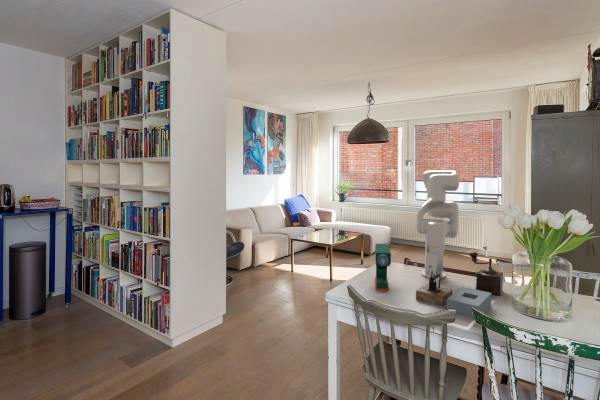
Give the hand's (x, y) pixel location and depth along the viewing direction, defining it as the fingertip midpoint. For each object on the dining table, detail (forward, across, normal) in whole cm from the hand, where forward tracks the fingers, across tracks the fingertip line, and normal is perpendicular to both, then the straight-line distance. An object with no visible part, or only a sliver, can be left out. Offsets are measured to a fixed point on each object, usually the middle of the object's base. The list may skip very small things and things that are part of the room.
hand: (434, 288), depth 157 cm
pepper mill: (+6, -30, +13) cm, 33 cm away
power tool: (+6, +1, -26) cm, 26 cm away
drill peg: (+5, 0, 0) cm, 5 cm away
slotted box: (+6, 0, +15) cm, 16 cm away
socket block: (+6, 0, 0) cm, 6 cm away
